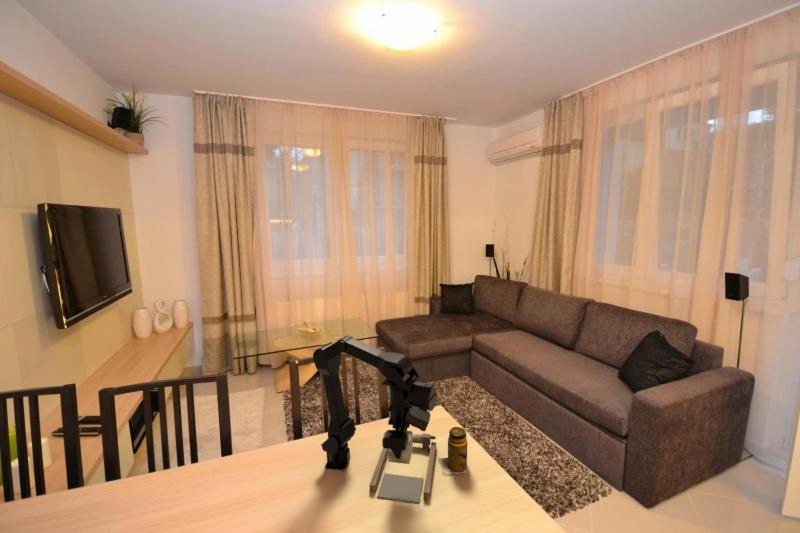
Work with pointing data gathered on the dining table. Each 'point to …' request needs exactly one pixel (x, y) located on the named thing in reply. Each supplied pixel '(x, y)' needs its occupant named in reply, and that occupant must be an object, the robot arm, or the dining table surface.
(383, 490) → the front pad
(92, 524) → the dining table surface
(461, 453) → the condiment
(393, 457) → the block
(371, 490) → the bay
